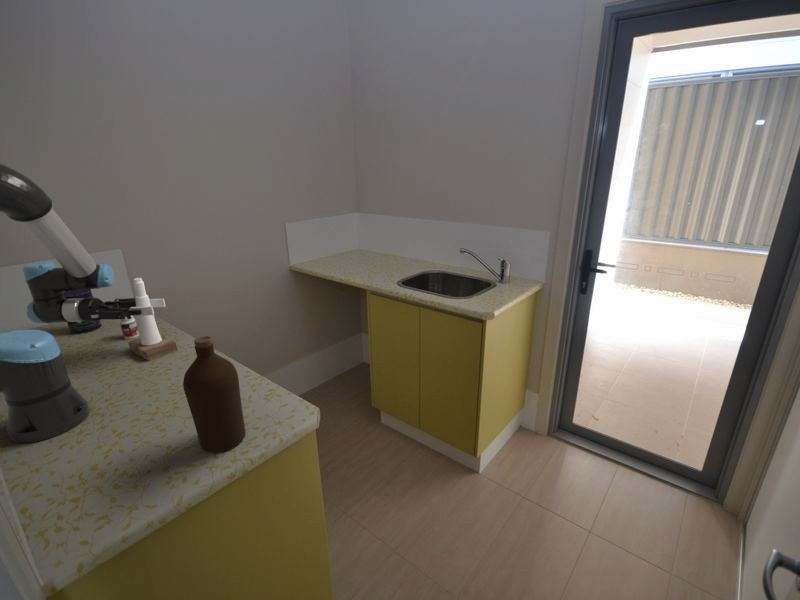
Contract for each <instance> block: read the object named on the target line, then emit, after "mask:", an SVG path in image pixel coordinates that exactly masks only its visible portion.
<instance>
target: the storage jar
mask: <svg viewBox="0 0 800 600" xmlns="http://www.w3.org/2000/svg"><path fill="white" fill-rule="evenodd" d="M63 293H64V297H65V299H75V298H95V297H94V295H93V293H92V289H85V290H74V291H64V292H63ZM66 324H67V327H68V329H69V331H70V334H71V333H72V335H83V334H82V333H84V334H88V332H89V333H92V332H95V331H98V330H100V329H101V328H102V327H101V326H103V325H102V323H101V320H98V321H81V323H78V322H66ZM100 327H101V328H100ZM97 329H98V330H97ZM94 330H95V331H94Z"/></svg>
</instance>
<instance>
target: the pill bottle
mask: <svg viewBox="0 0 800 600" xmlns="http://www.w3.org/2000/svg"><path fill="white" fill-rule="evenodd" d="M119 317H120V316H119ZM119 320H120V321H119V324H120V330H121V332H122V336H123V338H124V339H125V340H132V339H135V338H137V337H139V336H140V333H139V332H140V331H139V329H138V325H137V322H136V321H137V320H136V319H135V318H134V316H132V315H131V319H127V317H125V319H119Z"/></svg>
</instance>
